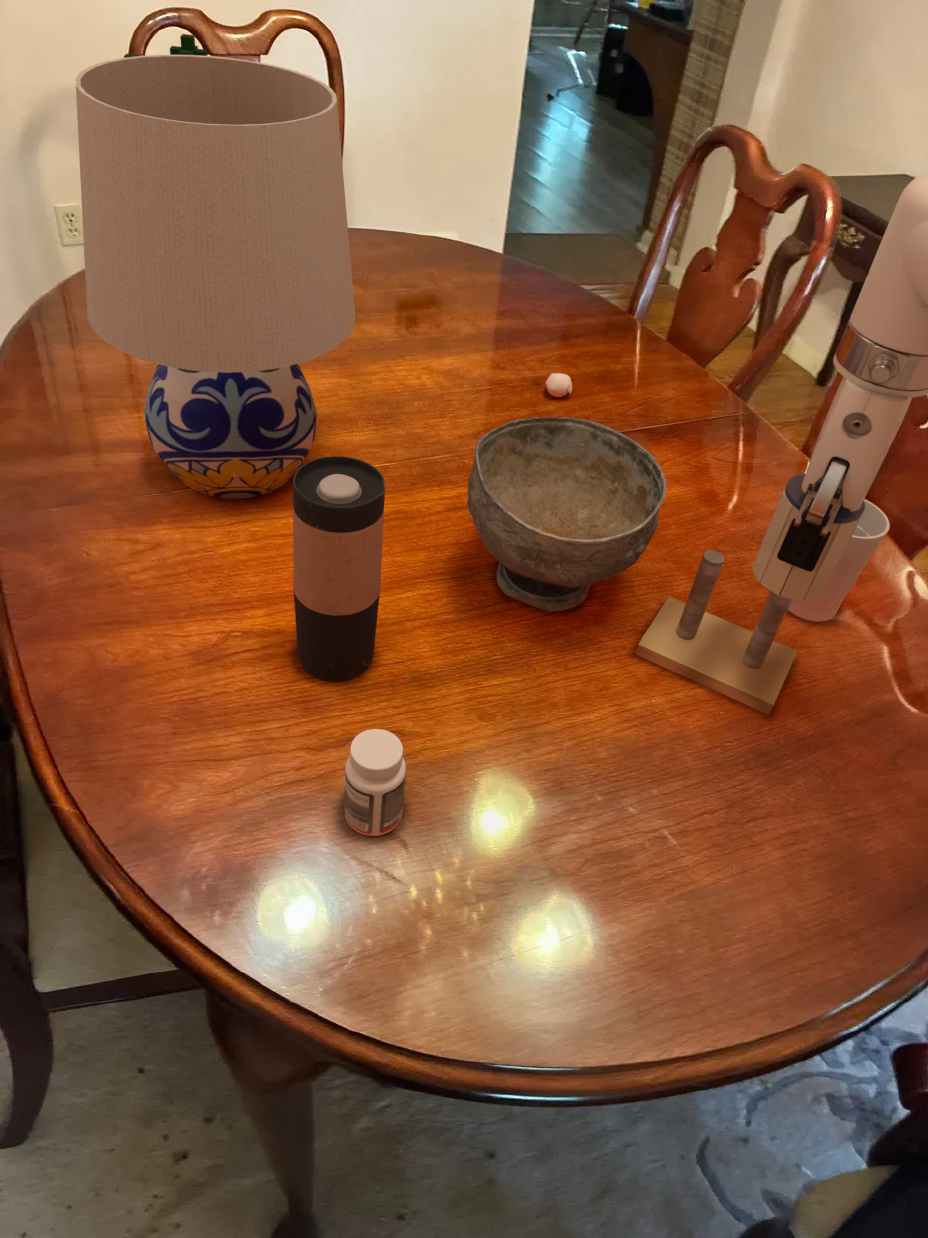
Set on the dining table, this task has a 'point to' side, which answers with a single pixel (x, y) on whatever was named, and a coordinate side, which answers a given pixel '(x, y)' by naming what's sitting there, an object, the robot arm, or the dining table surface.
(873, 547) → the cup
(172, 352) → the table lamp
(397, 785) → the pill bottle
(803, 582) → the blue topped tan cylinder
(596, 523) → the bowl
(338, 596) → the travel mug
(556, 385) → the garlic
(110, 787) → the dining table surface
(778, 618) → the double peg stand
